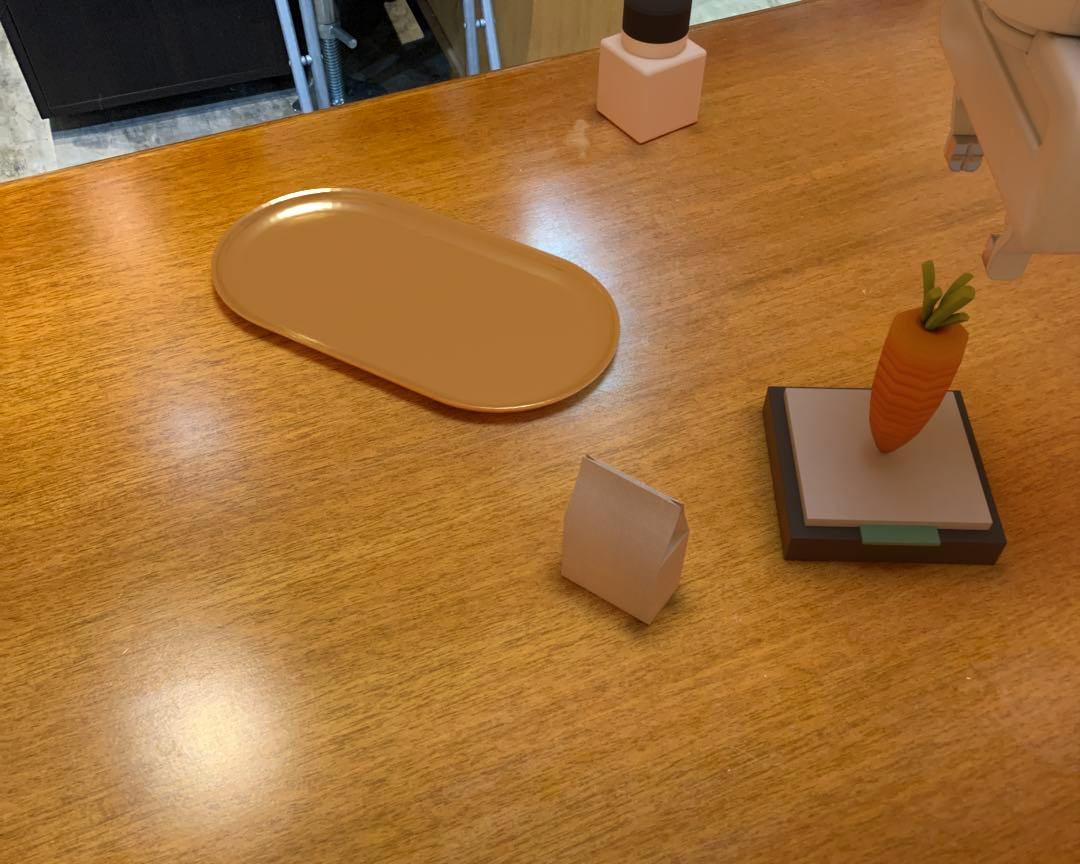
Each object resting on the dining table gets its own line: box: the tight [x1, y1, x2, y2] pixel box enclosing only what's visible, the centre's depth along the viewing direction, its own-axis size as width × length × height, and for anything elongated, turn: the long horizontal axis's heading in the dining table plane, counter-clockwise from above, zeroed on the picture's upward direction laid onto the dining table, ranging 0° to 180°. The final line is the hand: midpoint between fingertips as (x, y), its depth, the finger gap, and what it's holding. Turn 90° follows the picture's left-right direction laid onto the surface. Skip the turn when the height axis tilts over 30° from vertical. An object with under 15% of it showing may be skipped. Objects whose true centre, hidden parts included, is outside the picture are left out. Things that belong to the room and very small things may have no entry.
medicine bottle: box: [596, 0, 708, 144], centre depth 100 cm, size 7×7×12 cm
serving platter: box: [210, 187, 621, 414], centre depth 87 cm, size 19×35×2 cm, turn 61°
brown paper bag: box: [560, 453, 691, 626], centre depth 67 cm, size 4×7×10 cm, turn 55°
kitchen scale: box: [762, 385, 1008, 565], centre depth 75 cm, size 14×14×3 cm
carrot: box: [869, 259, 976, 453], centre depth 68 cm, size 5×5×15 cm
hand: (978, 215), depth 59 cm, fingers open, 8 cm apart
